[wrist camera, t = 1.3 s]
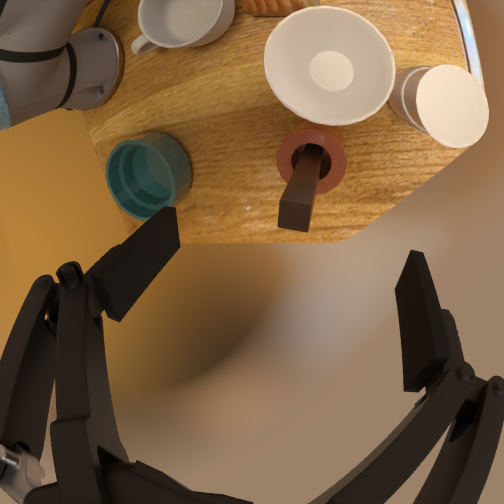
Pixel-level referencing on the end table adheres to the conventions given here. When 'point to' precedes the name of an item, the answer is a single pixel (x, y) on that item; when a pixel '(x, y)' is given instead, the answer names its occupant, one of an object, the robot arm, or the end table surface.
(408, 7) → the end table surface
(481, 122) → the white ribbed cylinder
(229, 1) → the teacup
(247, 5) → the pastry
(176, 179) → the bowl
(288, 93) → the cup
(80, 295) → the robot arm
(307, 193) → the stick
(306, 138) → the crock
